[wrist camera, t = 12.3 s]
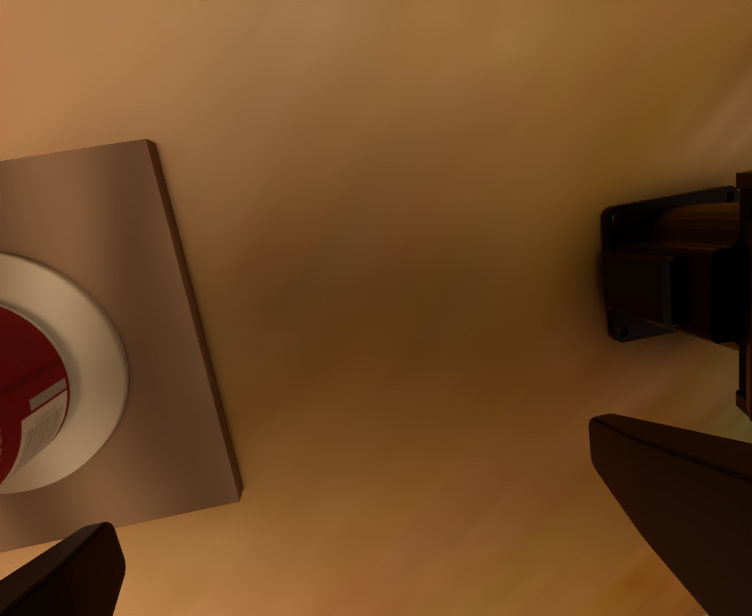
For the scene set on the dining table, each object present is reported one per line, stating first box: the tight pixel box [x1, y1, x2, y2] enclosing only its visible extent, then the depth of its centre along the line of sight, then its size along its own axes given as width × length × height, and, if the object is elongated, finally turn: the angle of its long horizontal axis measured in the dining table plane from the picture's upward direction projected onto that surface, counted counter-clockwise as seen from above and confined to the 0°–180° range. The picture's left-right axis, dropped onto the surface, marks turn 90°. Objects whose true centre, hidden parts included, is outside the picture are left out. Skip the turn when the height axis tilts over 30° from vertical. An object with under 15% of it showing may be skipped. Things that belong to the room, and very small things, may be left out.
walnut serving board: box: [0, 139, 243, 552], centre depth 19 cm, size 16×16×2 cm
